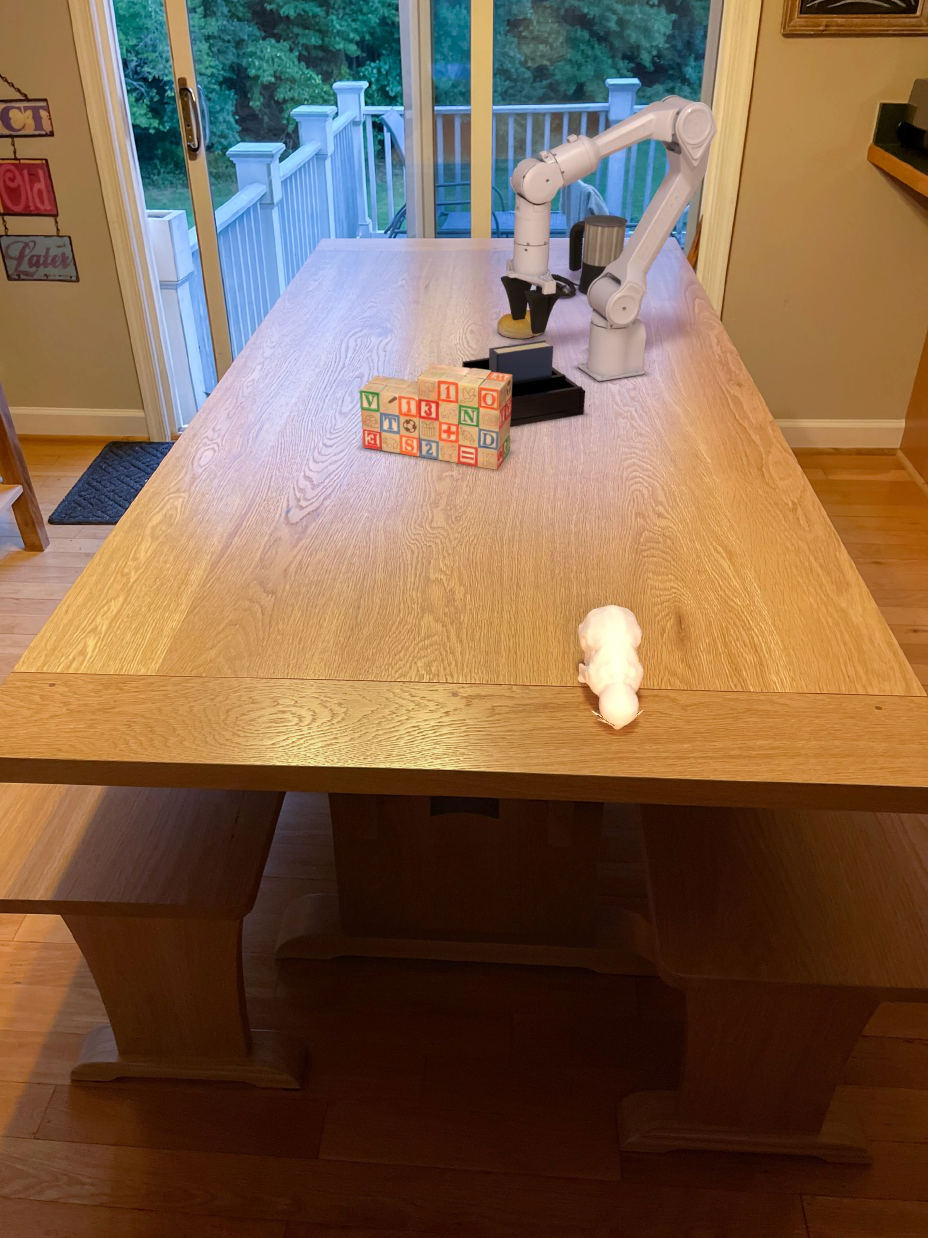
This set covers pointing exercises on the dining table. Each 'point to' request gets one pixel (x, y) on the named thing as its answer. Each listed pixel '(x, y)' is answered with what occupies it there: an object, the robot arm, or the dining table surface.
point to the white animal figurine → (612, 662)
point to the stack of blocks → (440, 415)
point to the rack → (540, 396)
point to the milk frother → (592, 250)
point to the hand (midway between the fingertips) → (528, 325)
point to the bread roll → (516, 327)
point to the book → (522, 360)
